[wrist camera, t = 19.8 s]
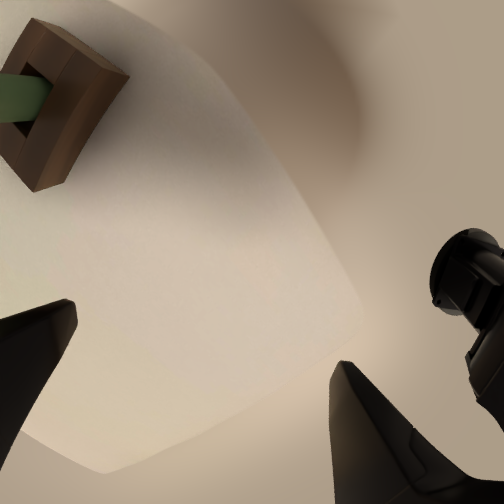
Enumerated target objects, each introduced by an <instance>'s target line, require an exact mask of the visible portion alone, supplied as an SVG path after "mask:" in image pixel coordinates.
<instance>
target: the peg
mask: <svg viewBox="0 0 504 504" xmlns="http://www.w3.org/2000/svg"><path fill="white" fill-rule="evenodd" d="M53 87H54V85H53V84H52V83H51V82H50V81H48V80H47V79H46V78H43V77H34V76H25V75H15V74H2V73H0V123H7V122H20V121H35V120H36V118H37V116H38V114H39V112H40V110H41V109H42V107H43V105H44V103H45V101H46V99H47V97H48V96H49V94H50V92H51V90H52V89H53Z"/></svg>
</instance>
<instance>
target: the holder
mask: <svg viewBox="0 0 504 504" xmlns="http://www.w3.org/2000/svg"><path fill="white" fill-rule="evenodd" d="M0 73H2V74H15V75H25V76H34V77H43V78H46V79H47V80H48V81H50V82H51V83H52V84H53V85H54V87H53V89H52V90H51V92H50V94H49V96H48V97H47V99H46V101H45V103H44V105H43V107H42V109H41V110H40V112H39V114H38V116H37V118H36V120H35V121H20V122H7V123H0V155H1V156H2V157H3V159H4V160H5V161H6V162H7V163H8V165H9V166H10V167H11V168H12V169H13V170H14V172H15V173H16V174H17V175H18V176H19V178H20V179H21V180H22V181H23V182H24V183H25V184H26V186H27V187H28V188H29V189H30V190H31V191H32V192H33V193H34V192H37V191H40V190H43V189H46V188H49V187H52V186H55V185H58V184H61V183H64V181H65V179H66V177H67V176H68V174H69V172H70V170H71V168H72V166H73V164H74V162H75V161H76V159H77V157H78V155H79V153H80V152H81V150H82V148H83V146H84V145H85V143H86V141H87V140H88V138H89V136H90V135H91V133H92V131H93V130H94V128H95V127H96V125H97V123H98V122H99V120H100V119H101V117H102V116H103V114H104V113H105V111H106V110H107V108H108V107H109V105H110V104H111V102H112V101H113V100H114V98H115V97H116V95H117V94H118V92H119V91H120V90H121V88H122V87H123V86H124V84H125V83H126V82H127V80H128V79H129V78H130V76H129V75H127V74H126V73H125V72H123V71H122V70H120V69H119V68H118V67H116V66H115V65H114V64H112V63H111V62H110V61H108V60H107V59H105V58H104V57H103V56H101V55H100V54H99V53H97V52H96V51H94V50H93V49H92V48H90V47H89V46H87V45H86V44H84V43H83V42H82V41H80V40H79V39H77V38H76V37H74V36H73V35H71V34H70V33H68V32H67V31H65V30H64V29H62V28H61V27H59V26H56V25H53V24H50V23H47V22H44V21H41V20H38V19H35V18H31V20H30V21H29V23H28V24H27V26H26V27H25V29H24V30H23V32H22V34H21V35H20V37H19V39H18V40H17V42H16V44H15V45H14V47H13V49H12V51H11V52H10V54H9V56H8V58H7V60H6V62H5V64H4V66H3V68H2V69H1V71H0Z"/></svg>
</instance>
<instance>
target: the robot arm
mask: <svg viewBox="0 0 504 504" xmlns="http://www.w3.org/2000/svg"><path fill="white" fill-rule="evenodd" d="M462 239H463V241H462V242H461V240H462ZM460 242H461V243H460ZM501 253H502V254H501ZM438 300H439V301H438ZM437 301H438V302H437ZM432 303H433V304H434V306H435V307H439V308H445V309H452V310H458V311H460V312H461V313H462V314H463V315H464V317H465V318H466V319H467V320H468V321H469V323H470V324H471V325H472V326H473V327H474V329H475V330H476V331H477V332H478V334H479V336H478V337H477V339H476V341H475V343H474V344H473V346H472V348H471V350H470V351H468V353H467V354H466V356H465V359H466V363H467V367H468V371H469V374H470V376H469V382H470V384H471V386H472V388H473V391H474V394H475V396H476V398H477V399H476V402H477V403H479V404H480V405H481V406H482V407H484V408H485V409H486V410H487V411H488V412H489V413H490V414H491V415H492V416H493V417H494V418H495V419H496V421H497V422H498V424H499V425H500V427H501V429H502V430H503V432H504V249H503V248H500V247H498V246H495V245H492V244H489V243H486V242H483V241H481V240H478V239H475V238H472V237H469V236H466V235H463V234H460V235H458V236H457V238H456V241H455V244H454V247H453V249H452V252H451V255H450V258H449V260H448V263H447V266H446V268H445V271H444V273H443V276H442V278H441V281H440V283H439V286H438V288H437V290H436V293H435V295H434V297H433V300H432ZM77 325H78V319H77V312H76V305H75V303H74V302H73V301H71V300H68V299H61V300H58V301H55V302H52V303H49V304H46V305H43V306H40V307H36V308H33V309H30V310H27V311H24V312H21V313H18V314H15V315H12V316H9V317H5V318H2V319H0V470H1V468H2V466H3V464H4V461H5V459H6V457H7V455H8V453H9V451H10V449H11V446H12V444H13V442H14V440H15V438H16V436H17V434H18V432H19V431H20V429H21V427H22V425H23V423H24V421H25V419H26V417H27V416H28V414H29V412H30V410H31V408H32V407H33V405H34V403H35V401H36V399H37V398H38V396H39V394H40V393H41V391H42V389H43V387H44V386H45V384H46V382H47V381H48V379H49V377H50V376H51V374H52V372H53V371H54V369H55V368H56V366H57V364H58V363H59V361H60V359H61V357H62V355H63V354H64V351H65V349H66V347H67V345H68V343H69V341H70V339H71V338H72V336H73V334H74V332H75V330H76V328H77ZM329 431H330V442H331V452H332V465H333V477H334V493H335V504H504V481H492V480H481V479H476V478H473V477H471V476H469V475H467V474H466V473H464V472H463V471H462V470H461V469H459V468H458V467H457V466H456V465H455V464H453V463H452V462H451V461H450V460H449V459H447V458H446V457H445V456H444V455H443V454H441V453H440V452H439V451H438V450H437V449H436V448H435V447H434V446H433V445H431V444H430V443H429V442H428V441H427V440H426V439H425V438H424V437H423V436H422V435H421V434H420V433H419V432H418V431H417V430H416V428H413V425H412V424H410V422H409V421H408V420H407V419H406V418H405V417H404V416H403V415H402V414H401V413H400V412H399V411H398V410H397V409H396V408H395V407H394V406H393V404H392V403H390V401H389V400H388V399H387V398H386V397H385V396H384V395H383V394H382V393H381V392H380V391H379V390H378V389H377V388H376V387H375V386H374V385H373V384H372V382H370V380H369V379H368V378H367V377H366V376H365V375H364V374H363V373H362V372H361V371H360V370H359V369H358V368H357V367H356V366H355V365H354V364H353V363H352V362H350V361H339V362H338V364H337V366H336V368H335V370H334V372H333V374H332V377H331V379H330V385H329Z"/></svg>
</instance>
